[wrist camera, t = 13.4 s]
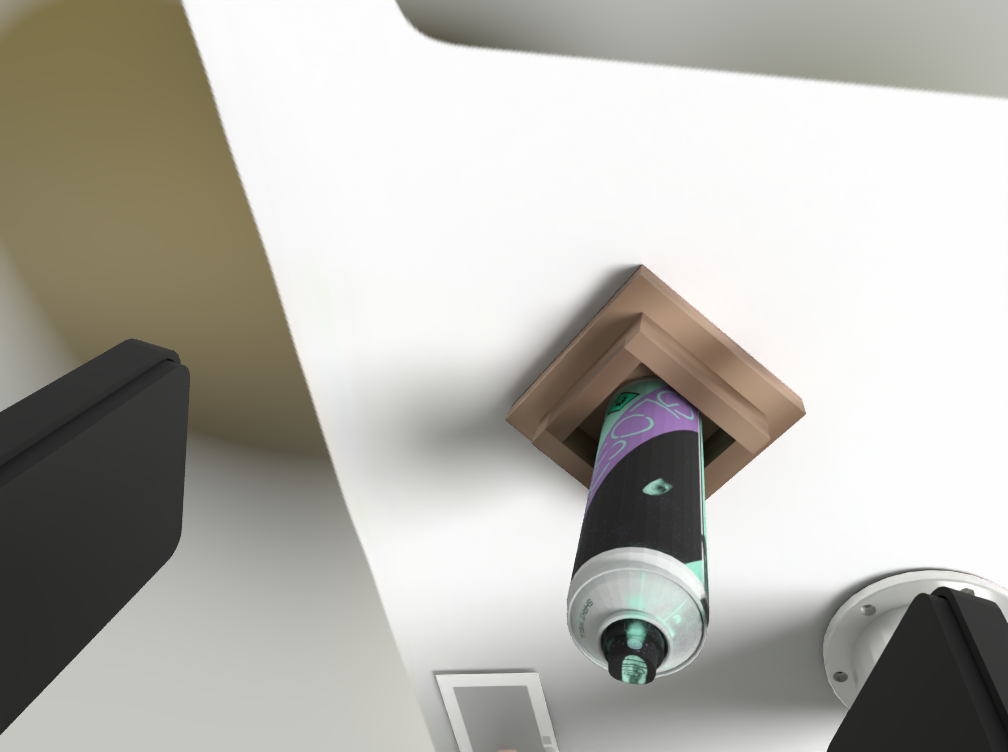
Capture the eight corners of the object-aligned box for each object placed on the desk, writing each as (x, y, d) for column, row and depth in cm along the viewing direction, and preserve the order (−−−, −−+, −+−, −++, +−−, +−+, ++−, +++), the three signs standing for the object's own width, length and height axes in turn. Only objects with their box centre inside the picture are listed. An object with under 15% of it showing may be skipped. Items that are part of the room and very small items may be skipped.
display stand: (801, 398, 46) (813, 439, 42) (658, 523, 52) (655, 571, 47) (642, 264, 45) (637, 291, 41) (512, 405, 51) (494, 443, 46)
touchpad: (485, 808, 66) (479, 833, 64) (439, 664, 61) (431, 685, 59) (579, 811, 64) (576, 836, 62) (540, 661, 59) (535, 683, 57)
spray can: (675, 360, 45) (667, 588, 27) (718, 440, 46) (738, 707, 28) (588, 399, 47) (527, 634, 29) (631, 474, 48) (599, 744, 30)
